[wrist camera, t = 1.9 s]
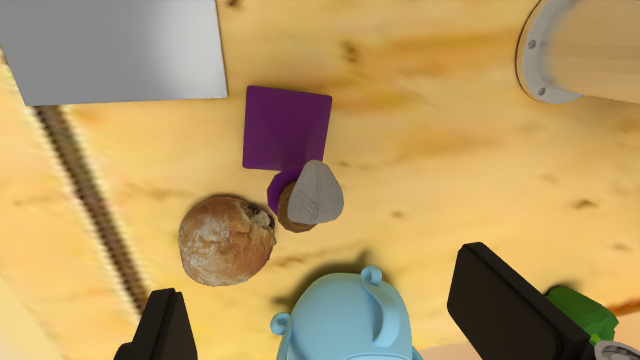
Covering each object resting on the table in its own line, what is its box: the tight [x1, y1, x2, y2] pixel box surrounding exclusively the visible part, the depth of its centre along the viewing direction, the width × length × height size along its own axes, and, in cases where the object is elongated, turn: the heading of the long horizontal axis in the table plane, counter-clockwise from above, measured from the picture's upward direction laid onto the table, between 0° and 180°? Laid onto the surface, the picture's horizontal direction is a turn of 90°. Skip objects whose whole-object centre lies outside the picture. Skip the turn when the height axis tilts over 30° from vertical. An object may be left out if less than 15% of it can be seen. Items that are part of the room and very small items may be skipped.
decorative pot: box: [270, 265, 423, 360], centre depth 37 cm, size 16×16×14 cm
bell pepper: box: [545, 287, 619, 346], centre depth 47 cm, size 8×8×10 cm
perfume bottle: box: [242, 85, 344, 233], centre depth 23 cm, size 8×8×18 cm
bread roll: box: [178, 197, 277, 287], centre depth 33 cm, size 10×10×8 cm
